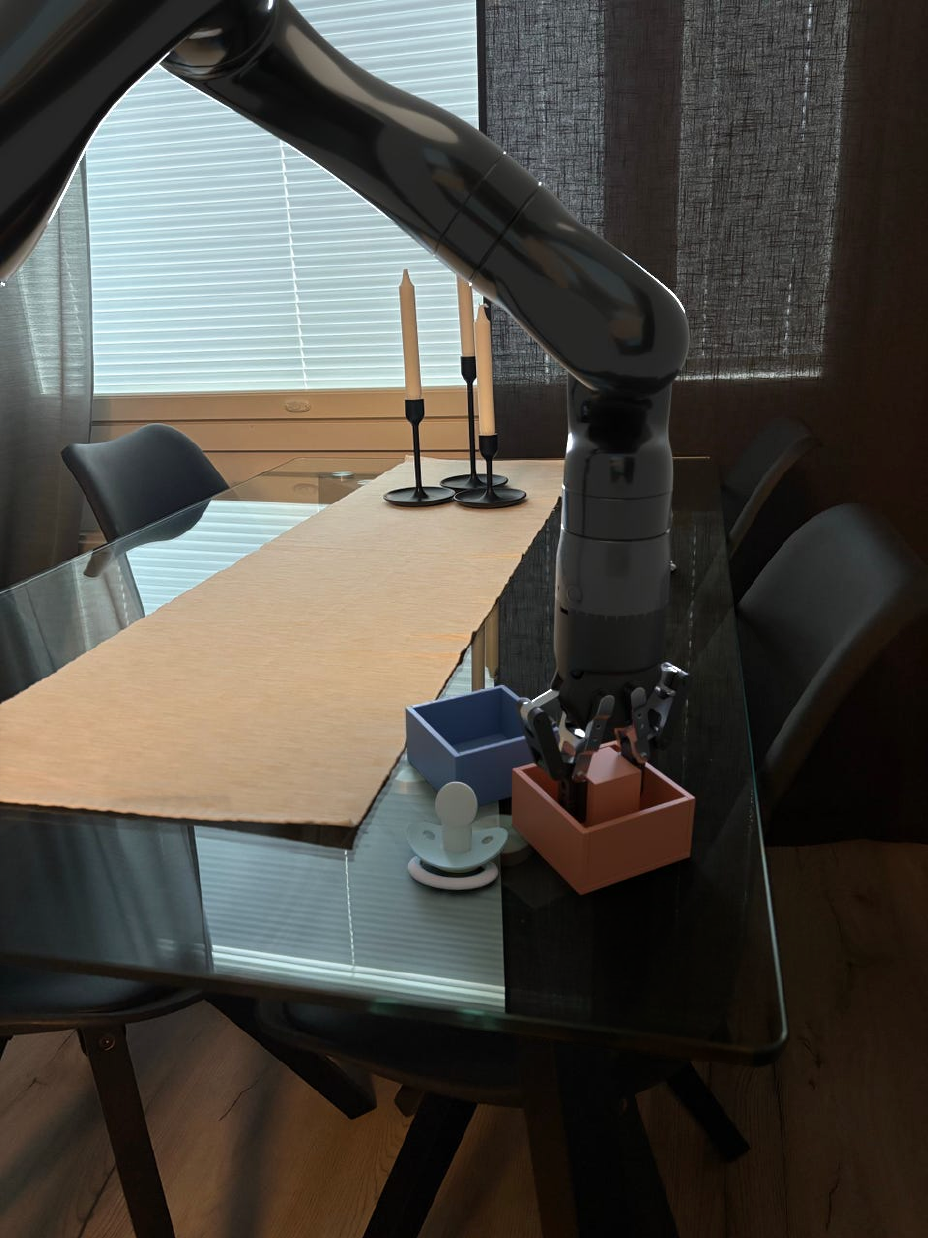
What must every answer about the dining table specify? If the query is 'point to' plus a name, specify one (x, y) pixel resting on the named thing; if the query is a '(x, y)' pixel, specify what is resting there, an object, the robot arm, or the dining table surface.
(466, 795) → the pacifier
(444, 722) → the blue bin
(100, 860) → the dining table surface
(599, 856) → the terracotta bin
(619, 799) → the block
